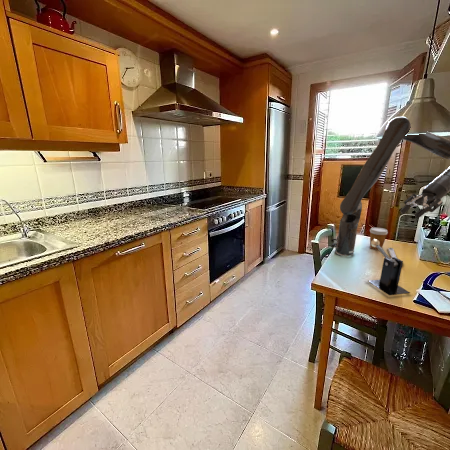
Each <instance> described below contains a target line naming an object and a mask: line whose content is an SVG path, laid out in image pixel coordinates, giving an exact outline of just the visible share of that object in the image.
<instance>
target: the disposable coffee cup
mask: <svg viewBox="0 0 450 450" xmlns="http://www.w3.org/2000/svg"><path fill="white" fill-rule="evenodd" d="M369 232H370V233H369V248H370V249H373V250H377V251H379V250H378V249H377V247H373V246H372V245H371V241H372V240H373V239H377V240H378V241H379V242H380V245H379V246H380V247H381V248H382V249H383V246H384V243H385V241H386V238H387V235H388V234H389V231H388V229H386V228H383V227H371V228H370V229H369Z"/></svg>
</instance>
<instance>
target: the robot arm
mask: <svg viewBox="0 0 450 450" xmlns="http://www.w3.org/2000/svg"><path fill="white" fill-rule="evenodd" d="M410 122H411V121H410V120H409V118H408V117H406V116H396V117H394V118H392V119H391V120H390V121H388V123H387V125H386V127H385V129H384V130H385V131H384V133H383V134H382V136H381V139H380V141H379V143H378V144H377V146H376V147H375V149H374V150H373V151H372V153H371V154H370V155H369V157H368V158H367V159H366V161H365V162H364V164H363V166H362V168H361V170H359V171H360V172H359V173H358V175H357V177H356V179H355V181H354V183H352V186H351V188H350V190H349V191H348V193H347V194H346V195H345V197H344V198H343V199H342V201H341V202H340V204H339V210H340V213H342V216H341V218H340V219H339V226H338V232H337V233H338V234H337V236H336V238H332V239H331V242H332V241H335V242H336V243H335V242H333V243H331V246H332V247H334V248H335V249H334V252H335V254H336V255H338V256H340V257H342V256H348V257H349V256H354V254H355V247H356V239H357V234H358V233H357V231H358V226H359V223H360V221H361V217H362V215H361V214H362V210H363V202H362V200H363V198H364V197H365V195H366V194H367V193H368V191H369V190H371V188H372V187H373V186H374V185H375V184H376V183H377V181H378V180H379V179H380V177H381V176H382V174H383V173H384V171H385V169H386V168H387V165H388V164H389V162H390V160H391V157H392V155H393V154H394V152H395V150H396V149H397V148H398V146H399V145H400V143H401V142H402V141H403V140H404V141H407V142H410V143H412V144H415V145H417V146H419V147H421V148H422V149H424V150H426V151H428V152H429V153H431V154H434V155H436V156H438V157H440V158H443V159H444V160H450V139H449V138H447V137H444V136H441V135H439V134H436V133H433V132H430V133H426V134H419V135H407V136H405V135H406V134H407V133H408V132H409V130H410V128H411V123H412V122H411V123H410ZM449 193H450V166H449V167H448V168H447V169H445V170H444V171H443V172H442V173H441V174H439V176H437V177H435V178H434V179H433V180H432V181H431V182H430V183H429V184H427V185H426V186H425V187H424V188H423V189H422V192H421V193H419V194H416V193H412V194H411V195H410V196H409V197H408V198H406V200H404V201H403V204H404V206H403V207H401V209H400V210H399V211H400V213H401V214H403V215H405V214H406V213H407V212H408V211H409V210H411V209H412V208H413V207H418V206H421V207H422V208H420V209H419V210H418V211H417V212H415V213H414V216H415V218H417V219H419V218H421V217H422V216H424V215H425V214H426V213H434V212H435V211H436V210H437V209H438V208H439V207H440V206H442V205H443V204H444V202H443V200H442V199H443V198H444V197H445V196H446V195H447V194H449Z"/></svg>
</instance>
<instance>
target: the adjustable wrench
mask: <svg viewBox="0 0 450 450" xmlns="http://www.w3.org/2000/svg"><path fill="white" fill-rule="evenodd" d="M387 252H388V254H389V257H390V258H391V259H392V257H395V258H397V259H399V258H398V257H397V255H396V252H395V249H394V248H393V247H388V248H387Z"/></svg>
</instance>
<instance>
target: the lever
mask: <svg viewBox="0 0 450 450" xmlns="http://www.w3.org/2000/svg"><path fill="white" fill-rule="evenodd" d="M371 245H372V246H373V247H377V249H378V250H377V251H379V252H380V253H381V254H382V256H383V258H388V259H390V260H392V261H394V262H395V263H394V268H396V267H397V265H398V263H397V262H396V260H395V259H391V257H390V255H388V253H387V252H386V251H385V250H384V249H383V247H382V248H381V247H380V246H379V245H380V242H379V241H378V240H377V239H373V240H372V241H371Z"/></svg>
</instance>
